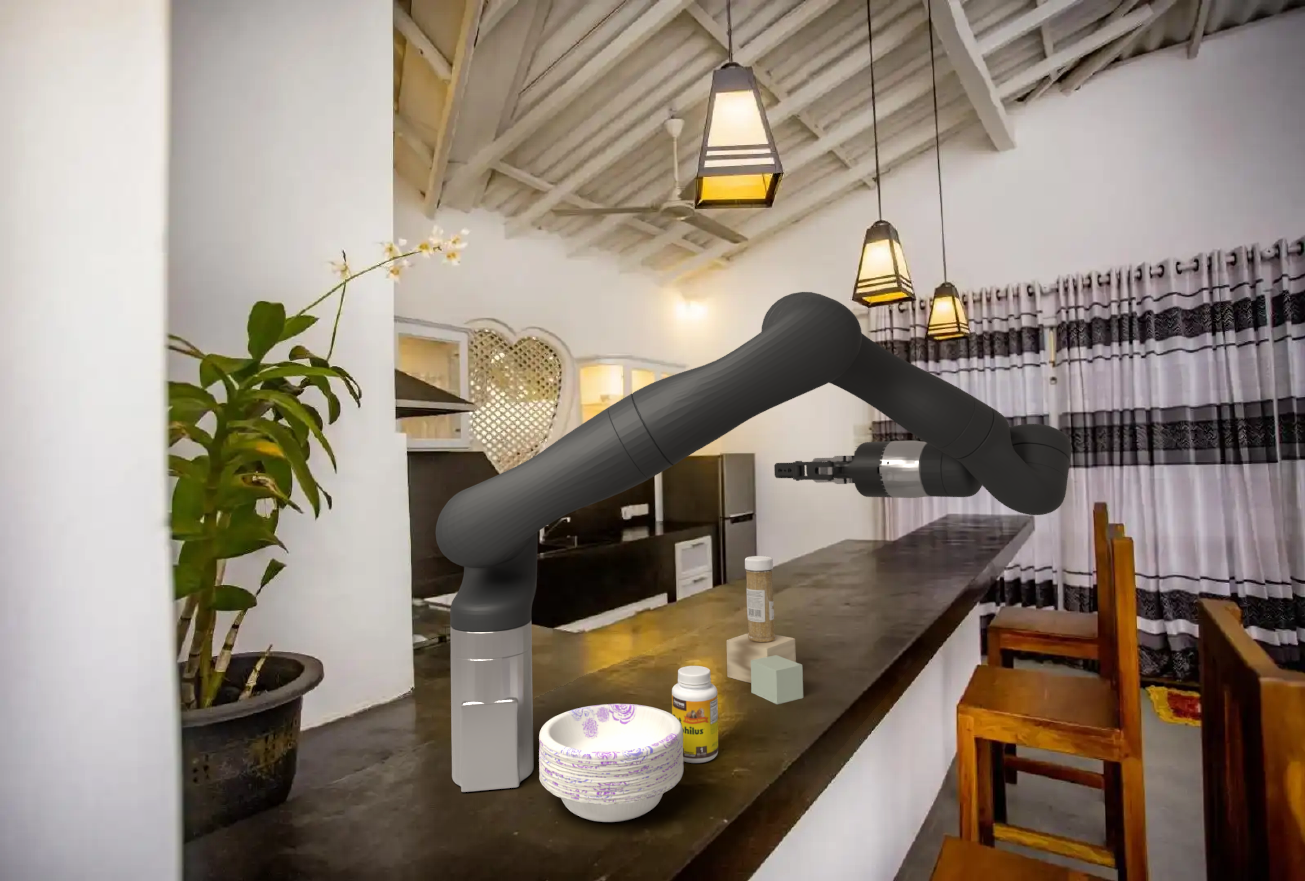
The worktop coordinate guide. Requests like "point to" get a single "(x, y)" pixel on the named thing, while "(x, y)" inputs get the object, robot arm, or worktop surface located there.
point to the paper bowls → (611, 759)
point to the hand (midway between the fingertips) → (792, 469)
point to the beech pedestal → (755, 654)
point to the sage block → (777, 679)
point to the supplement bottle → (696, 713)
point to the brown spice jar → (760, 598)
